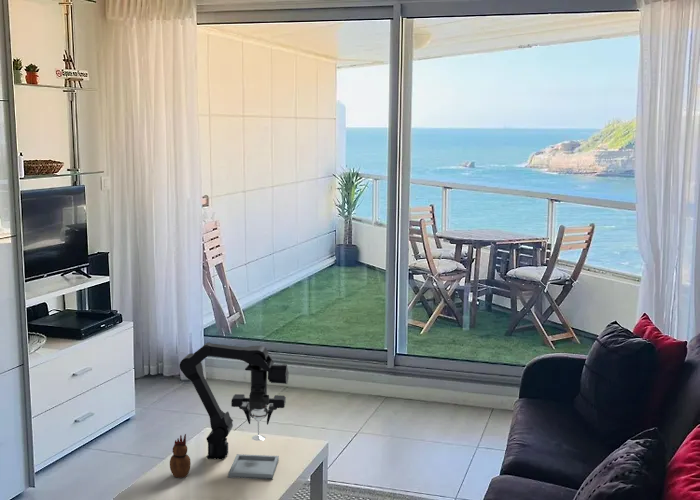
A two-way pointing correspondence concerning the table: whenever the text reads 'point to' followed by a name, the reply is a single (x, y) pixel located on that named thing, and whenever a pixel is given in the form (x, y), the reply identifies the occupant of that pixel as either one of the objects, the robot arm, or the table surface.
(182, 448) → the wooden figurine
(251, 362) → the robot arm
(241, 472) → the serving tray
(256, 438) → the wineglass
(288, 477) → the table surface
